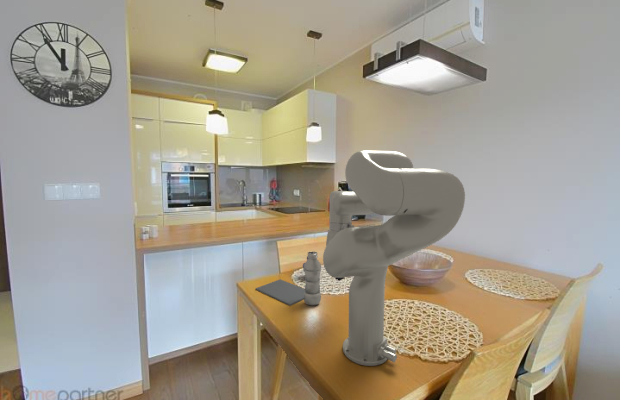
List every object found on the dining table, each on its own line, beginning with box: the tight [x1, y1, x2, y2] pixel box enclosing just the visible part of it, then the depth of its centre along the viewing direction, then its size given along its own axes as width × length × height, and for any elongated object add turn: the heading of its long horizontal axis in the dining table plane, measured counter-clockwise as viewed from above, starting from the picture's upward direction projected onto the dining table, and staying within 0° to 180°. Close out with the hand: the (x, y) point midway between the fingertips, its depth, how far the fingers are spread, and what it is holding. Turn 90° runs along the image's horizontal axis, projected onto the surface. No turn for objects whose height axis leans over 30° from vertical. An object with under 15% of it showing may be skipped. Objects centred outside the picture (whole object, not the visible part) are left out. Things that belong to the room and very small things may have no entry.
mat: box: [255, 278, 305, 307], centre depth 114 cm, size 22×14×1 cm, turn 47°
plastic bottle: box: [303, 251, 322, 306], centre depth 102 cm, size 6×7×20 cm
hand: (339, 278), depth 93 cm, fingers closed
